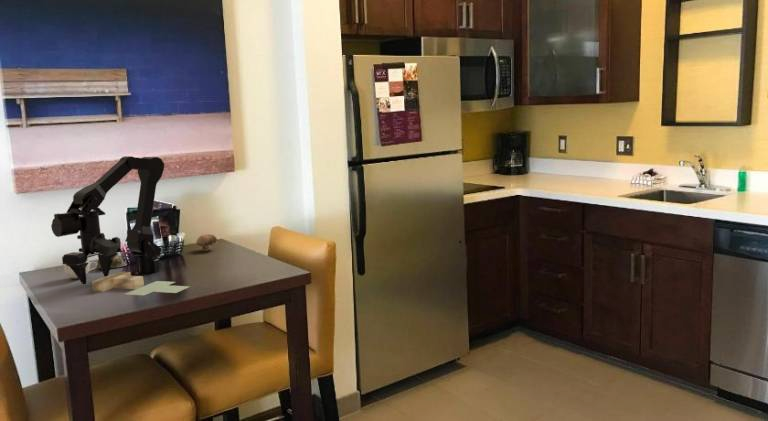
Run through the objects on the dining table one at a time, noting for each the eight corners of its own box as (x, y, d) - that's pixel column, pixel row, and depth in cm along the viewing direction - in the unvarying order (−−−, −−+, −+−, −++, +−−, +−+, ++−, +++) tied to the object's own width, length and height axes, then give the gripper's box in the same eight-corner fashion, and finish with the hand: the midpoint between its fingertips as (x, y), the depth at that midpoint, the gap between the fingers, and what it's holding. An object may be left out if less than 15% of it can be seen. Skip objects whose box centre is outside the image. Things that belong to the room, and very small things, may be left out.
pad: (123, 294, 181) (123, 294, 181) (156, 281, 195) (156, 280, 195) (167, 297, 177) (167, 296, 177) (197, 283, 191) (197, 283, 191)
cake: (99, 272, 212) (97, 256, 211) (94, 266, 220) (93, 252, 220) (129, 267, 217) (128, 252, 216) (124, 262, 226) (122, 248, 225)
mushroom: (193, 252, 237) (192, 236, 236) (202, 248, 245) (201, 232, 244) (213, 252, 236) (211, 236, 235) (221, 248, 243) (220, 232, 242)
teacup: (65, 281, 200) (63, 264, 199) (64, 276, 207) (62, 260, 206) (98, 276, 205) (97, 260, 204) (97, 271, 211) (95, 256, 211)
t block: (93, 291, 186) (92, 281, 186) (120, 280, 198) (120, 271, 197) (126, 292, 183) (124, 283, 182) (152, 282, 194) (151, 273, 193)
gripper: (88, 237, 179) (94, 289, 182) (132, 226, 197) (137, 273, 199) (58, 236, 183) (64, 287, 185) (104, 225, 200) (109, 272, 203)
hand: (95, 280), depth 193 cm, fingers open, 9 cm apart
